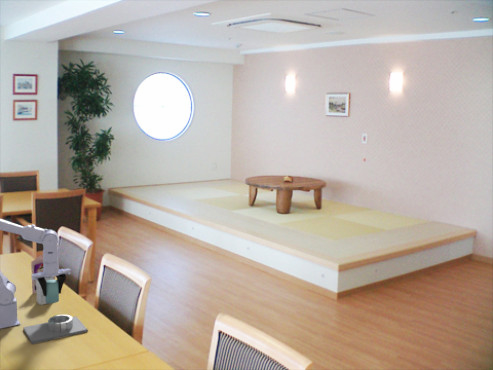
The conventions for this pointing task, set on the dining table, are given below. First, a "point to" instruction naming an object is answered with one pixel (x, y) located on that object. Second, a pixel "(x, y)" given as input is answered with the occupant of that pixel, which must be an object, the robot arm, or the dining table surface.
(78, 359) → the dining table surface
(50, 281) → the plug
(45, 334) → the board
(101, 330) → the dining table surface
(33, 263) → the greeting card
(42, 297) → the skincare box
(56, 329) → the grey segmented ring
